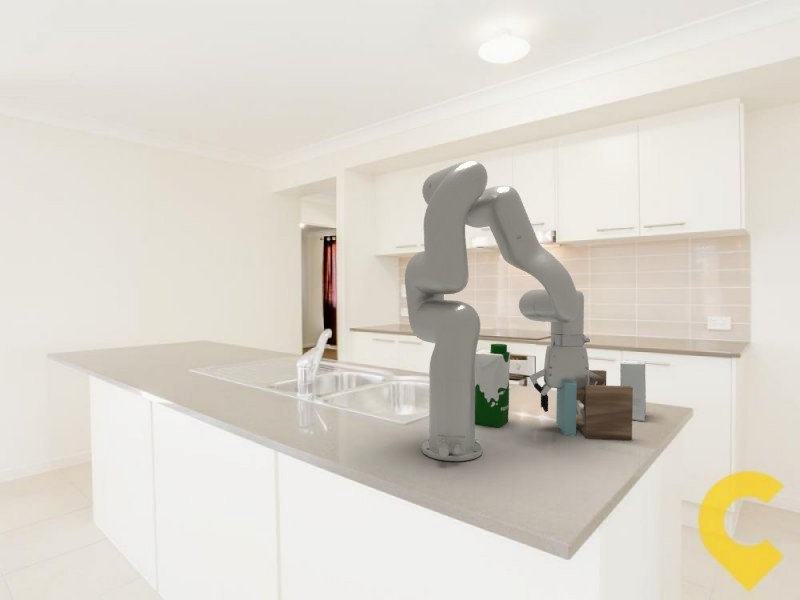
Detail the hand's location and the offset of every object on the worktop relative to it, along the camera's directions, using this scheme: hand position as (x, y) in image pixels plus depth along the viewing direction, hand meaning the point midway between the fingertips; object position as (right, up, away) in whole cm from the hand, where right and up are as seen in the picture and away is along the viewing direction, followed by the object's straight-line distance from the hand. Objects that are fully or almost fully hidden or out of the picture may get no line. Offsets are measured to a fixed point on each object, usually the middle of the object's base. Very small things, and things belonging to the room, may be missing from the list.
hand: (565, 411), depth 117 cm
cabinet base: (+9, -4, +3) cm, 10 cm away
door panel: (0, -4, 0) cm, 4 cm away
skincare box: (+22, -4, +11) cm, 25 cm away
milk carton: (-17, -4, +6) cm, 19 cm away
